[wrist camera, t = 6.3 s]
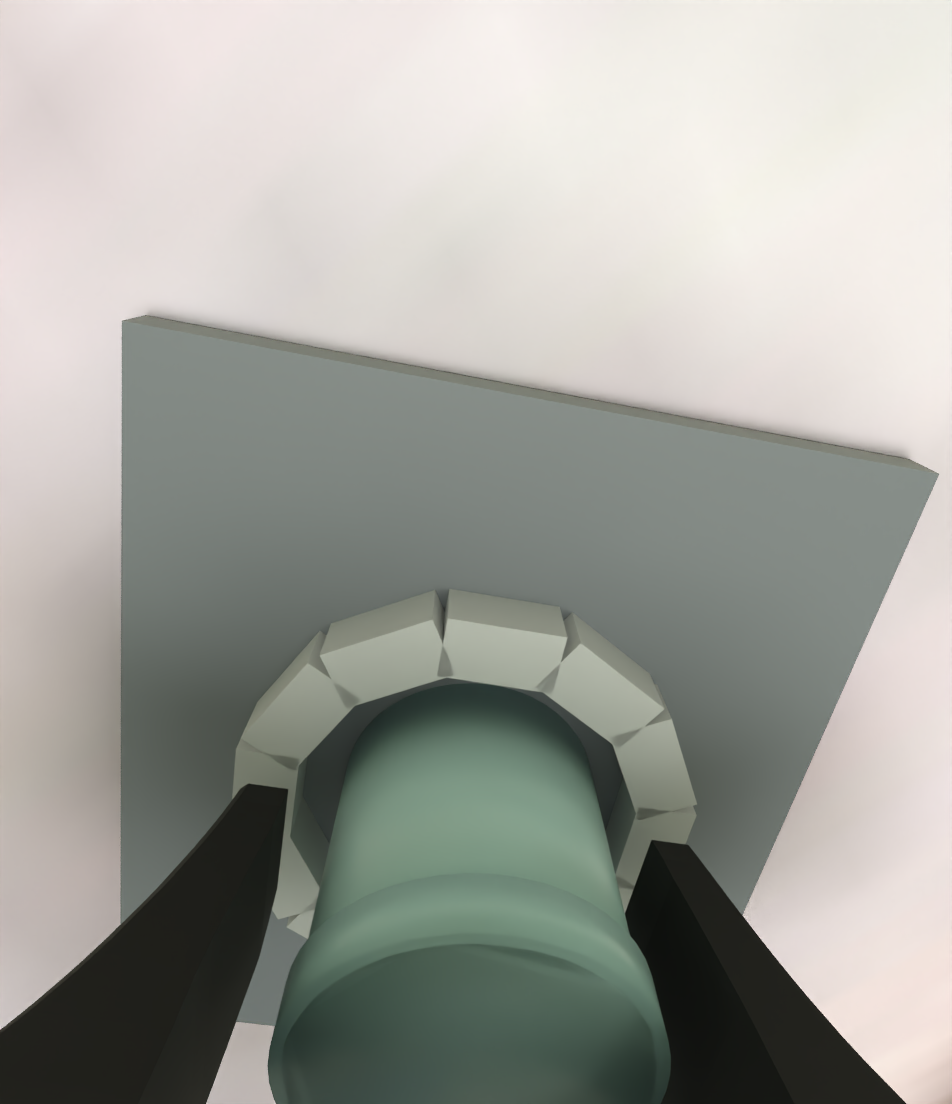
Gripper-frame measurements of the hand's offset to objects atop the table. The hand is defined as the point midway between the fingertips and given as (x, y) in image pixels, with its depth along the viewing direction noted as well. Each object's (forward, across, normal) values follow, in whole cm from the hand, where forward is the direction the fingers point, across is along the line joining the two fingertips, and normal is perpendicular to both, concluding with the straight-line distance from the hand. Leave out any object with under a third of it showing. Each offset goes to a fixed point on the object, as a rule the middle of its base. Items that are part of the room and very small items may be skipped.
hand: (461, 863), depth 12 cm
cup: (+2, 0, 0) cm, 2 cm away
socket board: (+3, 0, 0) cm, 3 cm away
